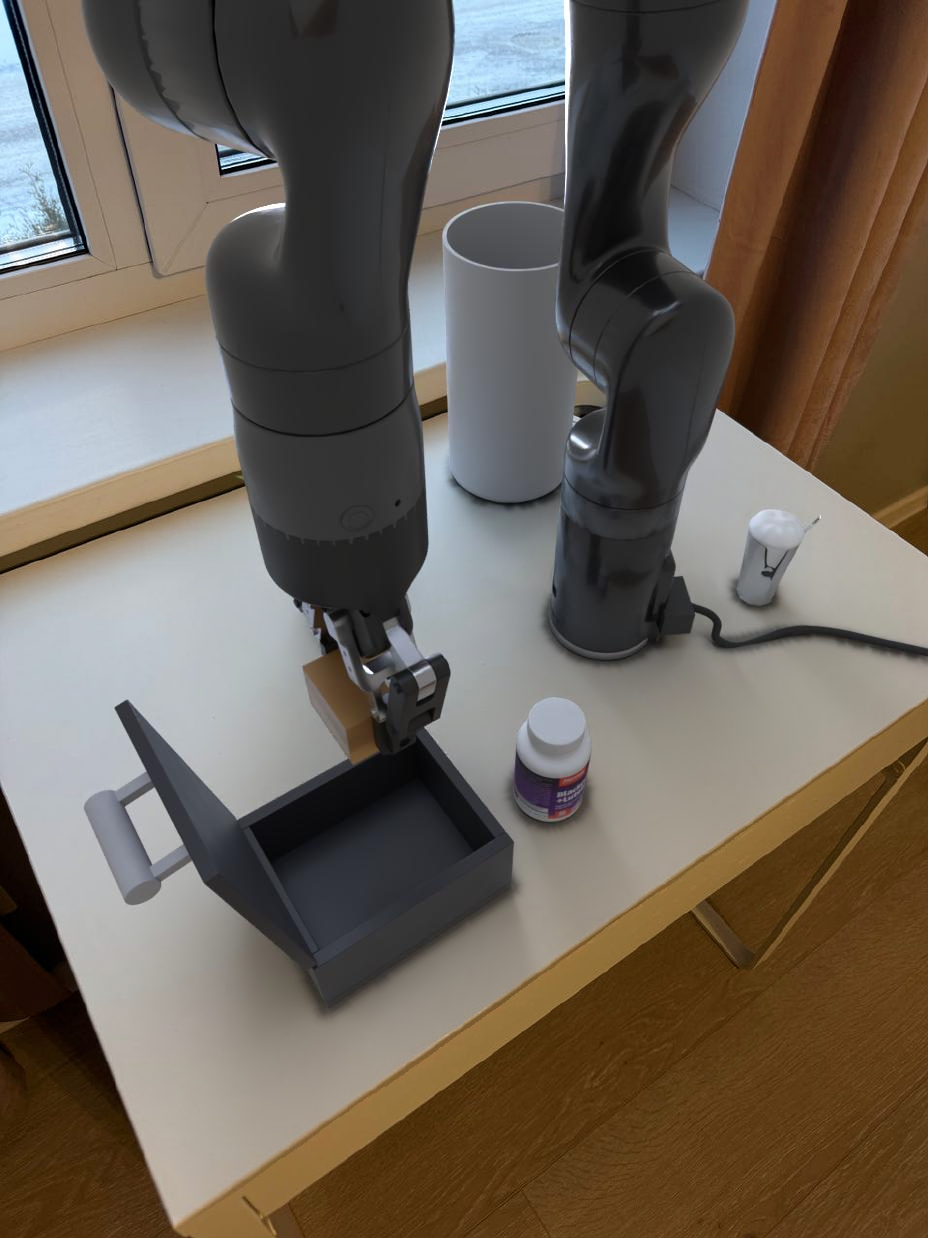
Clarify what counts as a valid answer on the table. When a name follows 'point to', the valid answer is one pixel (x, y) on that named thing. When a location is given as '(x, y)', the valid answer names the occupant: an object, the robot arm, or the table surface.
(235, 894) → the lid
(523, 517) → the table surface
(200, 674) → the table surface
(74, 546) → the table surface
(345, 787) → the dark grey rectangular box
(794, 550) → the milkshake
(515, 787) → the pill bottle
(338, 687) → the block
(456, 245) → the cylinder vase
